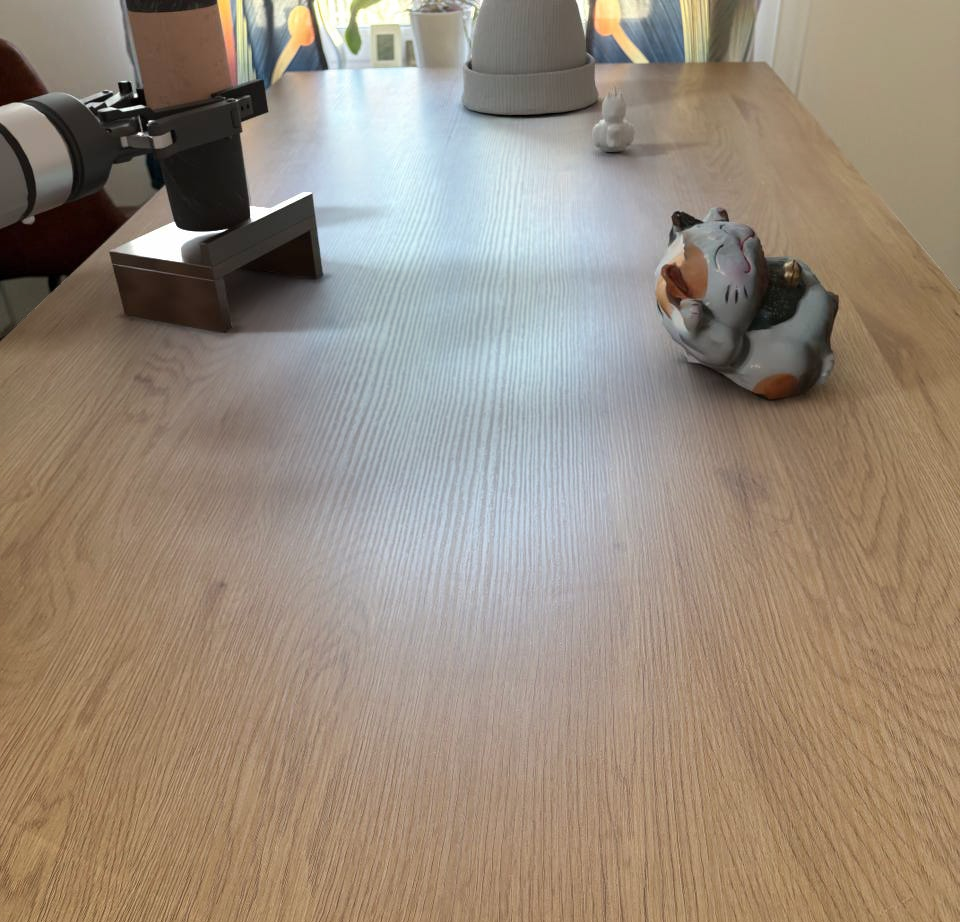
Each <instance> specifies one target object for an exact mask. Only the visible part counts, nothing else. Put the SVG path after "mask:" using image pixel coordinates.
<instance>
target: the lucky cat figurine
mask: <svg viewBox="0 0 960 922" xmlns="http://www.w3.org/2000/svg"><path fill="white" fill-rule="evenodd" d="M670 218H671V221H672V224H671V229H670V231H669V234H668V238H669V240H668V243H667V247H666V252H665V253H664V256H663V257H662V258H661V260H660V262H659V264H658V266H657V268H656V269H655V272H654V273H653V277H654V281H655V291H654V294H655V297H656V305H655V307H656V311H657V312H656V313H657V314H658V317H659V320H660V323H661V324H662V326H663V327H664V328H665V330H666V331H667V332H668V334H669V336H670V337H671V339H672V340H673V342H675V343H676V344H678V345H679V346H680V347H682V355H683V357H684V358H685V360H687V362H689V363H694V364H695V363H696V364H701V365H703V366H705V367H708V368H710V369H711V370H714V371H716V372H718V373H719V374H722V375H723V376H725V377H727V378H728V379H729V380H731V381H732V382H734V383H735V384H737V385H738V386H740V387H741V388H743V389H745V390H747V391H750V392H752V393H754V394H755V395H756V396H759V397H762V398H763V399H767V400H770V401H771V400H776V399H784V398H788V397H794V396H795V397H796V396H800V395H803V394H806V393H807V392H809V391H810V390H811V389H813V388H814V387H822V386H823V385H824V384H825V383H826V381H828V380H829V379H830V376H831V373H832V371H833V369H834V367H835V363H836V360H835V359H836V356H835V352H834V350H833V349H832V347H831V346H832V345H831V337H832V334H833V333H832V332H833V331H834V324H835V322H836V317H837V314H838V311H839V309H840V306H839V304H840V297H839V295H838V294H835V293H834V292H833V291H829V290H826V288H825V287H824V286H823V285H822V284H821V281H820V280H819V278H818V277H817V276H816V275H815V273H814V272H813V271H812V269H811V268H810V267H809V266H808V265H807V264H806V263H805V262H804V261H802V260H800V259H798V258H795V257H791V256H765V251H764V250H763V245H762V241H761V239H760V238H759V236H758V233H757V231H756V230H755V229H754V228H753V227H751V226H749V225H747V224H745V223H741V222H737V221H730V219H729V214H728V211H727V209H725V208H724V207H722V206H714V207H711V208H710V209H709V210H708V212H707V214H706V216H704V217H703V219H702V220H701V219H698V218H696V217H695V216H693V215H692V214H691V215H690V214H689V213H687V212H685V211H680V210H676V211H673V213H672V215H671V217H670Z"/></svg>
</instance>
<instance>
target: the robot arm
mask: <svg viewBox="0 0 960 922" xmlns="http://www.w3.org/2000/svg"><path fill="white" fill-rule="evenodd" d="M117 86H118V92H117V93H115V94H114V92H113V90H108V89H102V91H99V92H96V93H94V94H91V95H88V96H85V97H83V98H80V99H79V98H77V97H75V96H73V95H71V94H69V93H65V92H60V91H59V92H58V91H57V92H56V91H55V92H50V93H49V92H48V93H46V94H42V95H40V96H36V97H32V98H29V99H28V98H27V99H25V100H22V101H20V102H11V103H8V104H4V105H1V106H0V230H1V229H4V228H6V227H8V226H11V225H13V224H16V223H20V222H21V223H22V224H24V225H33V224H35V221H36V219H35V216H36V215H38V214H41V213H44V212H48V211H50V210H52V209H55V208H57V207H60V206H62V205H63V204H64V205H66V204H70V203H73V202H76V201H78V200H80V199H83V198H86V197H88V196H90V195H93V194H95V193H98V192H99V191H101V190H102V189H103V188H104V187H105V185H106V184H107V182H108V181H109V177H110V175H111V170H112V168H113V165H119V164H124V163H129V162H131V161H132V160H133V158H136V157H140V156H146V155H150V154H152V157H153V160H158V161H159V160H163V159H165V158H167V157H169V156H171V155H173V154H175V153H177V152H179V151H183V150H186V149H189V148H193V147H196V146H199V145H203V144H206V143H209V142H212V141H216V140H219V139H222V138H225V139H228V140H229V139H232V135H238V134H239V133H240V134H241V133H243V126H242V125H243V124H242V123H243V122H246V121H249V120H251V119H254V118H257V117H260V116H262V115H265V114H268V113H269V106H268V99H267V92H266V86H265V80H264V78H255V79H252V80H249V81H245V82H242V83H239V84H237V85H232V87H230V88H227V89H224V90H221V91H218V92H215V93H212V94H211V98H209V99H204V100H199V101H194V102H189V103H184V104H179V105H174V106H169V107H164V108H158V109H153V110H152V109H151V108H150V107H147V104H146V99H145V94H144V90H143V86H140V87H139V86H138V87H137V88H135V90H136V93H134V88H133V83H132V81H131V80H122V81H117Z"/></svg>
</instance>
